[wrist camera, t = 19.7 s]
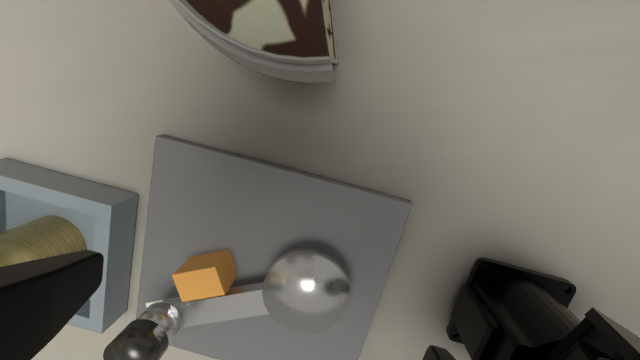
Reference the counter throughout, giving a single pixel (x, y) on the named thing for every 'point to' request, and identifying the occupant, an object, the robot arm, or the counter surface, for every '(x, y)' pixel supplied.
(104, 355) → the crank
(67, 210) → the tray
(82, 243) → the pin
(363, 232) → the crank base
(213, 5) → the food container
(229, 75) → the counter surface
